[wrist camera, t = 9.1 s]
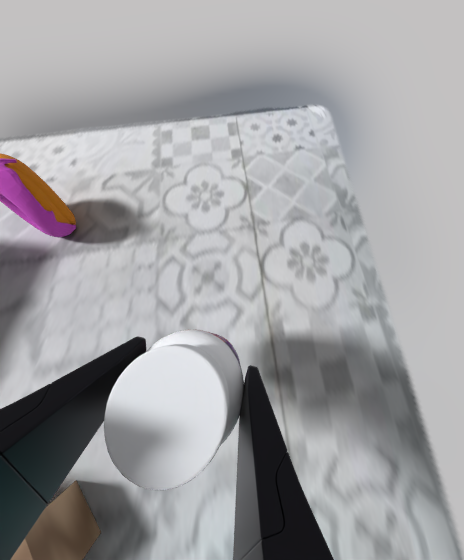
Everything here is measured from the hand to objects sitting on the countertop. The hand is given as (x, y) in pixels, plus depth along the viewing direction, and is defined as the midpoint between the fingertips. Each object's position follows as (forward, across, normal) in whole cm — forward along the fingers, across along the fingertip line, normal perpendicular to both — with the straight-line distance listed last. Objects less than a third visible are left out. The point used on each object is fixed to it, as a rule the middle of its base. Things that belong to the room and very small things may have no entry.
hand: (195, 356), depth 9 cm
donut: (+18, +27, +1) cm, 32 cm away
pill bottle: (+4, 0, +6) cm, 7 cm away
